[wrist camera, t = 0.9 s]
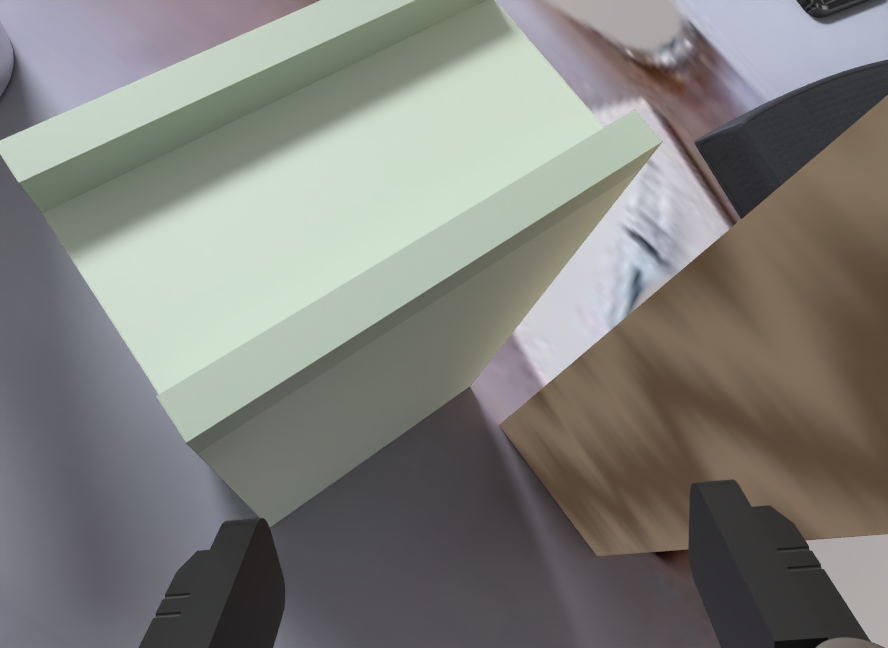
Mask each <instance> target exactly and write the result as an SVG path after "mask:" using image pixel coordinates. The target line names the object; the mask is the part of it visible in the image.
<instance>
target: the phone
mask: <svg viewBox="0 0 888 648" xmlns="http://www.w3.org/2000/svg"><path fill="white" fill-rule="evenodd" d="M865 1H868V0H797V2H798V3H799V4H800V5H801V7H802V8H803V9H804V10H805V11H806V12H807V13H808V14H810V15H812V16H814V17H825V16H828V15H830V14H833V13H836V12H839V11H841V10H844V9H847V8H849V7H852V6H855V5H857V4H860V3H863V2H865Z"/></svg>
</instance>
